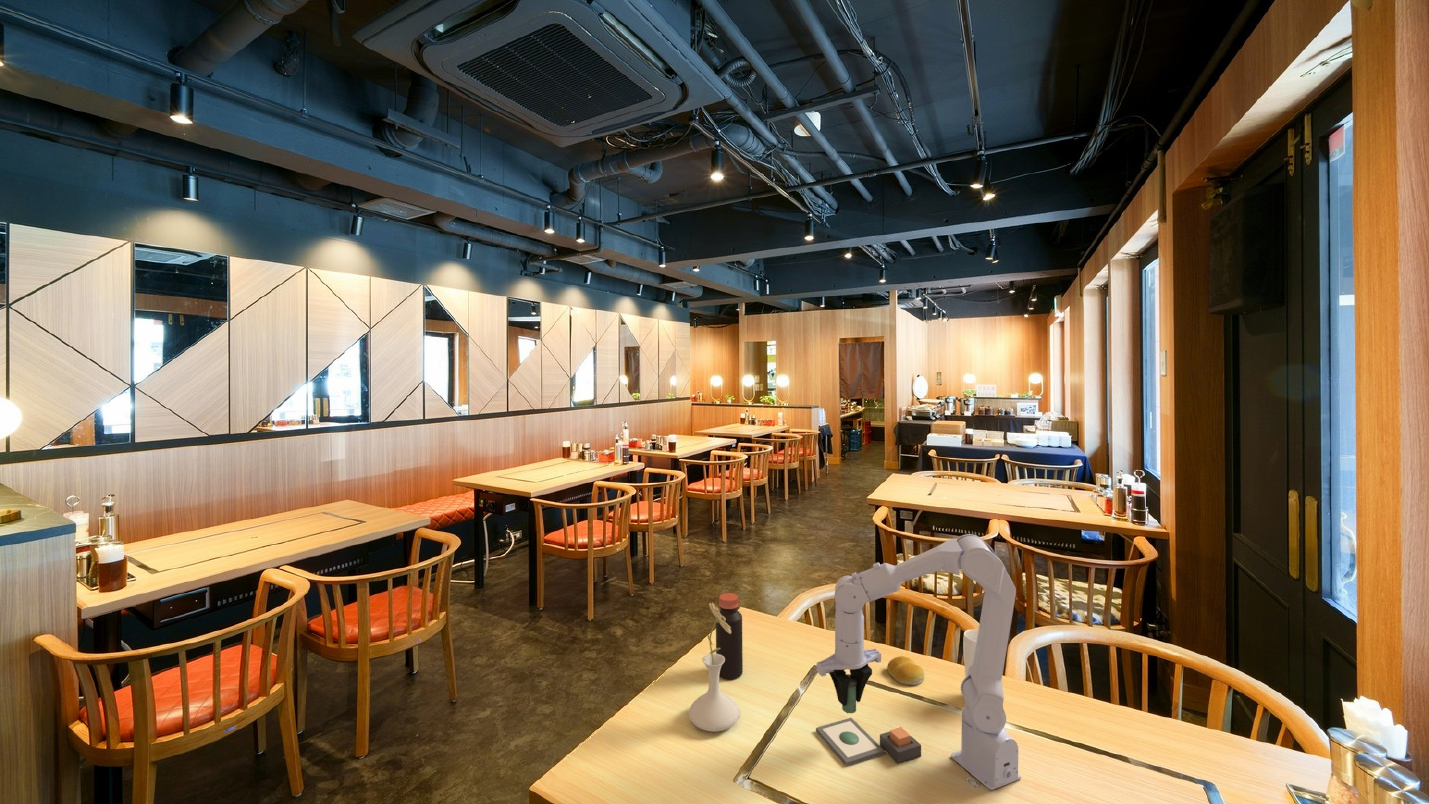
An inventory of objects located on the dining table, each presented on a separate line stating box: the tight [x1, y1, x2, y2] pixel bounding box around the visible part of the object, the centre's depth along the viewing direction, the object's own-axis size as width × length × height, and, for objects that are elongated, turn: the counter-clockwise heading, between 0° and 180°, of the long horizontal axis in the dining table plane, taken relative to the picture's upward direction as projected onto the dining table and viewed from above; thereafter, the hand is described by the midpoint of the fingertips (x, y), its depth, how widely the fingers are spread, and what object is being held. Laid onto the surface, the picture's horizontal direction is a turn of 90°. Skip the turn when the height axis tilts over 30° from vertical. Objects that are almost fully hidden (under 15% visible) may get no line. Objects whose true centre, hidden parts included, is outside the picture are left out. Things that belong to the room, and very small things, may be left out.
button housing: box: [879, 730, 922, 765], centre depth 106 cm, size 6×6×2 cm
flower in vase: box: [688, 602, 741, 732], centre depth 116 cm, size 13×11×25 cm
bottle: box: [715, 592, 744, 681], centre depth 134 cm, size 7×7×20 cm
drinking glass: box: [962, 629, 979, 678], centre depth 122 cm, size 7×7×15 cm
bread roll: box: [886, 655, 925, 686], centre depth 132 cm, size 8×9×4 cm
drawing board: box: [815, 717, 885, 767], centre depth 108 cm, size 11×9×1 cm
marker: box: [841, 673, 857, 714], centre depth 108 cm, size 3×3×6 cm
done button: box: [889, 726, 912, 748], centre depth 106 cm, size 3×3×2 cm
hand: (849, 701), depth 108 cm, fingers closed on marker, 3 cm apart
